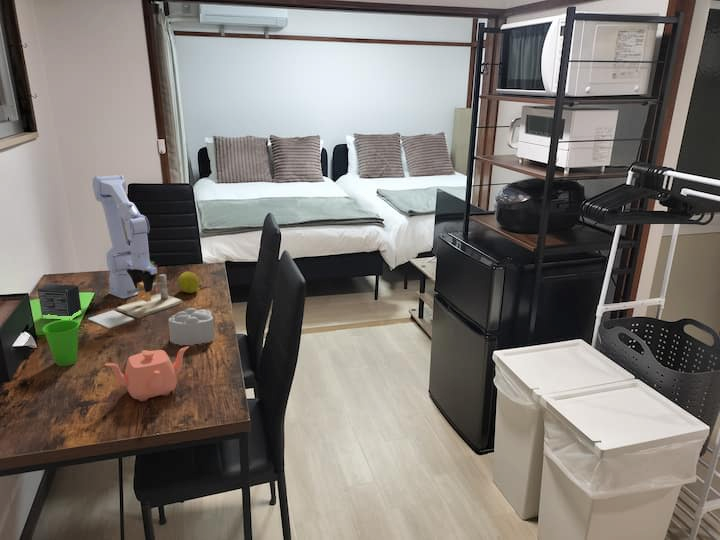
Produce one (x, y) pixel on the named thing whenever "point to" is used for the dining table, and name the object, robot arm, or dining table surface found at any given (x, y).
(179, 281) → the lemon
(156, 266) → the geometric puzzle
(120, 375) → the teapot
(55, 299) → the small box
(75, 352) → the cup
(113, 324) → the grey mat
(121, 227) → the robot arm
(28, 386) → the dining table surface
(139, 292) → the c link
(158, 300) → the hook stand
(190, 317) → the lumpy-topped squat cylinder
